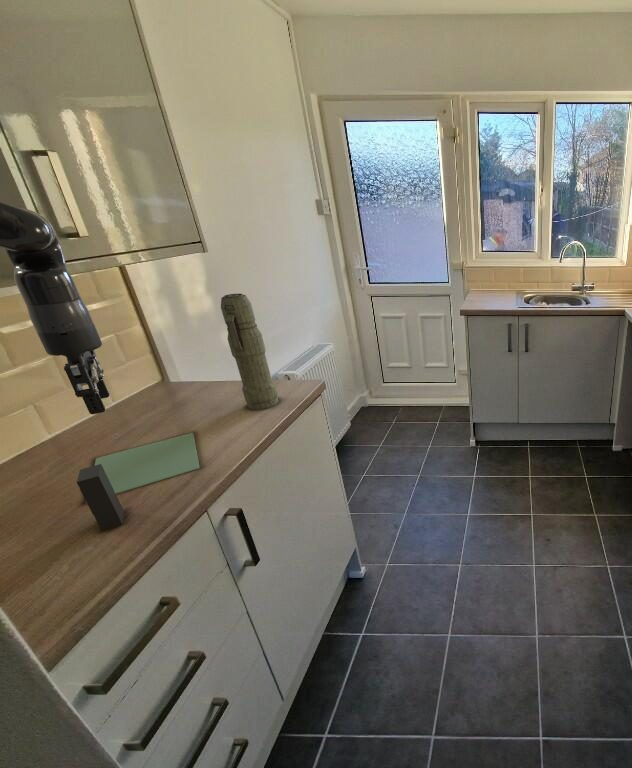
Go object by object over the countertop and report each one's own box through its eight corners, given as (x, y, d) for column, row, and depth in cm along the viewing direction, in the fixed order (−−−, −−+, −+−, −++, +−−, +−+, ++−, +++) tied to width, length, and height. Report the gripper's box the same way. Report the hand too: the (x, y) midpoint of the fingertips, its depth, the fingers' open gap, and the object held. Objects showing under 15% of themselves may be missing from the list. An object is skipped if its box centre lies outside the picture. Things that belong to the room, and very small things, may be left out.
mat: (86, 504, 88) (85, 502, 88) (96, 460, 104) (95, 458, 104) (200, 469, 100) (199, 467, 99) (193, 434, 115) (193, 432, 115)
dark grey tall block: (101, 533, 80) (74, 482, 75) (103, 519, 84) (78, 469, 79) (123, 526, 82) (98, 475, 77) (124, 512, 86) (101, 463, 81)
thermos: (242, 414, 126) (206, 300, 112) (254, 398, 136) (223, 292, 123) (273, 411, 128) (243, 298, 114) (283, 395, 138) (256, 290, 124)
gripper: (44, 321, 79) (80, 398, 85) (26, 338, 68) (68, 424, 75) (97, 315, 83) (127, 389, 89) (88, 330, 73) (123, 412, 79)
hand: (100, 405), depth 82 cm, fingers open, 8 cm apart
